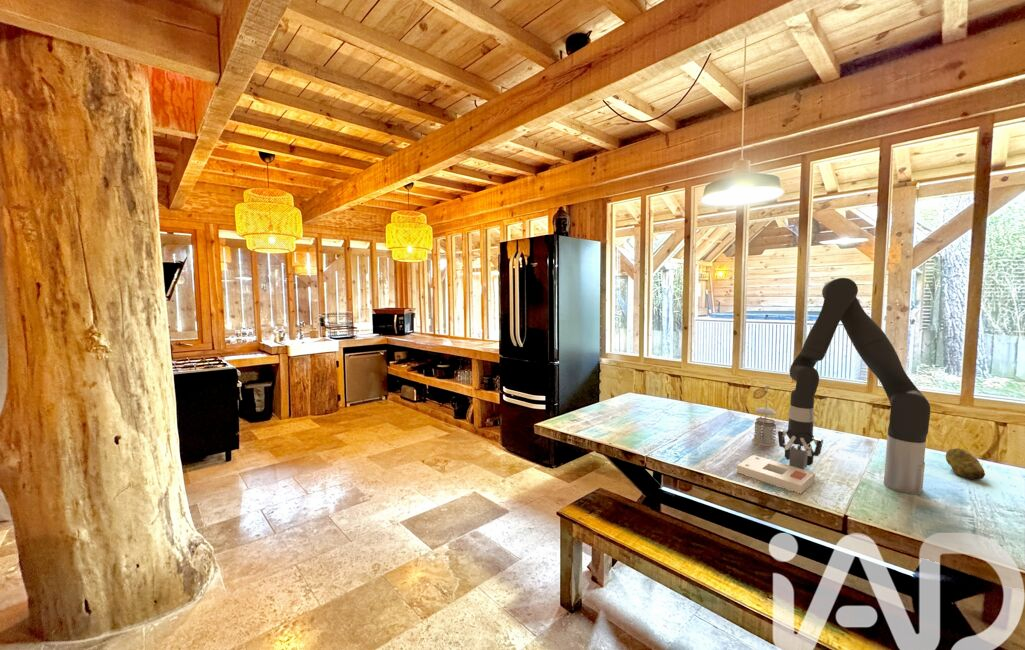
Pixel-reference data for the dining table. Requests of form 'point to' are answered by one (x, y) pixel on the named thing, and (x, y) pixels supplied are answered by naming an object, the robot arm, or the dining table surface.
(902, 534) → the dining table surface
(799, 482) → the socket plate
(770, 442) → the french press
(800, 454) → the plug
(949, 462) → the potato
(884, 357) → the robot arm
